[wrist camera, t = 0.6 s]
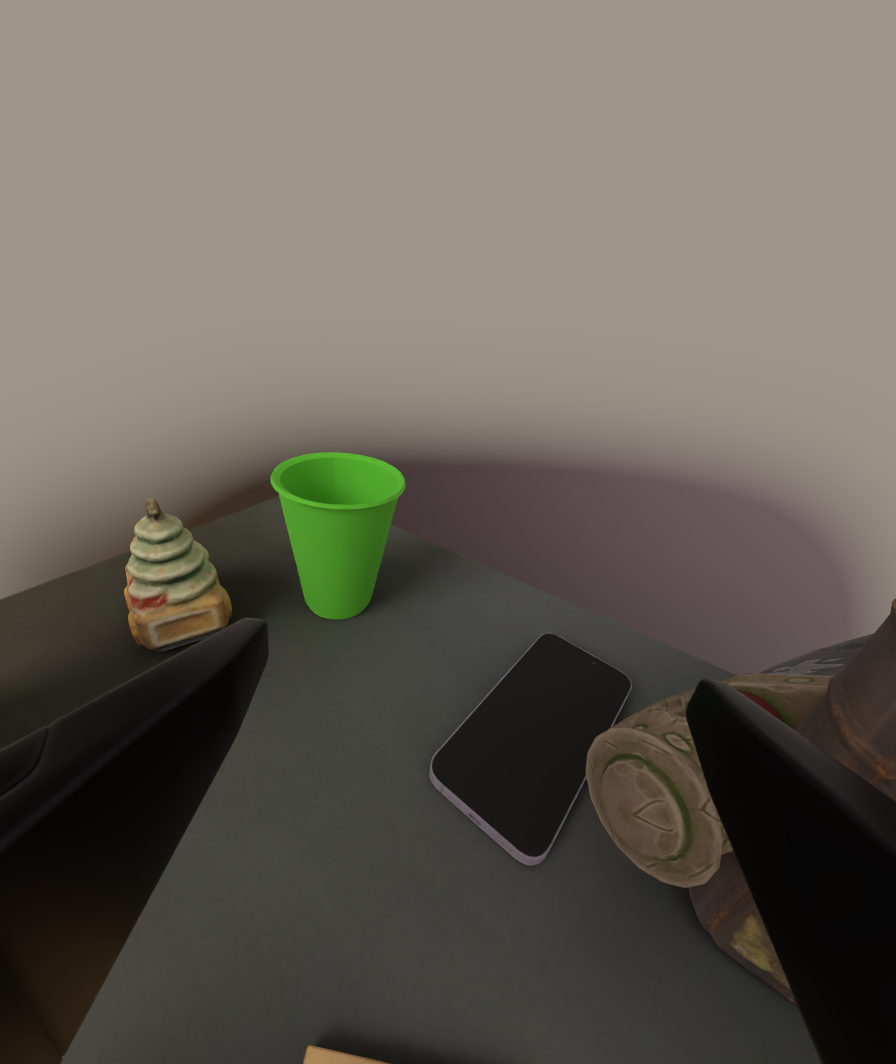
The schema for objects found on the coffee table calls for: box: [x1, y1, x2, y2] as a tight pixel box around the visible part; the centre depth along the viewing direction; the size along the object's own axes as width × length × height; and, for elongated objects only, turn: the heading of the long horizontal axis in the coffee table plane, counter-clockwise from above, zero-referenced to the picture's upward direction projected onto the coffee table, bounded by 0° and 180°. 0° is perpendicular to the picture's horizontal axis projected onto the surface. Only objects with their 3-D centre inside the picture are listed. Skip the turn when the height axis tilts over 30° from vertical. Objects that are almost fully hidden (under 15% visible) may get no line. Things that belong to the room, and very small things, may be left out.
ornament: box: [124, 499, 232, 652], centre depth 29 cm, size 8×6×10 cm
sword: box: [586, 634, 873, 888], centre depth 26 cm, size 30×5×30 cm
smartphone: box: [429, 633, 632, 866], centre depth 27 cm, size 7×1×15 cm
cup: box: [271, 453, 405, 620], centre depth 33 cm, size 9×9×11 cm
